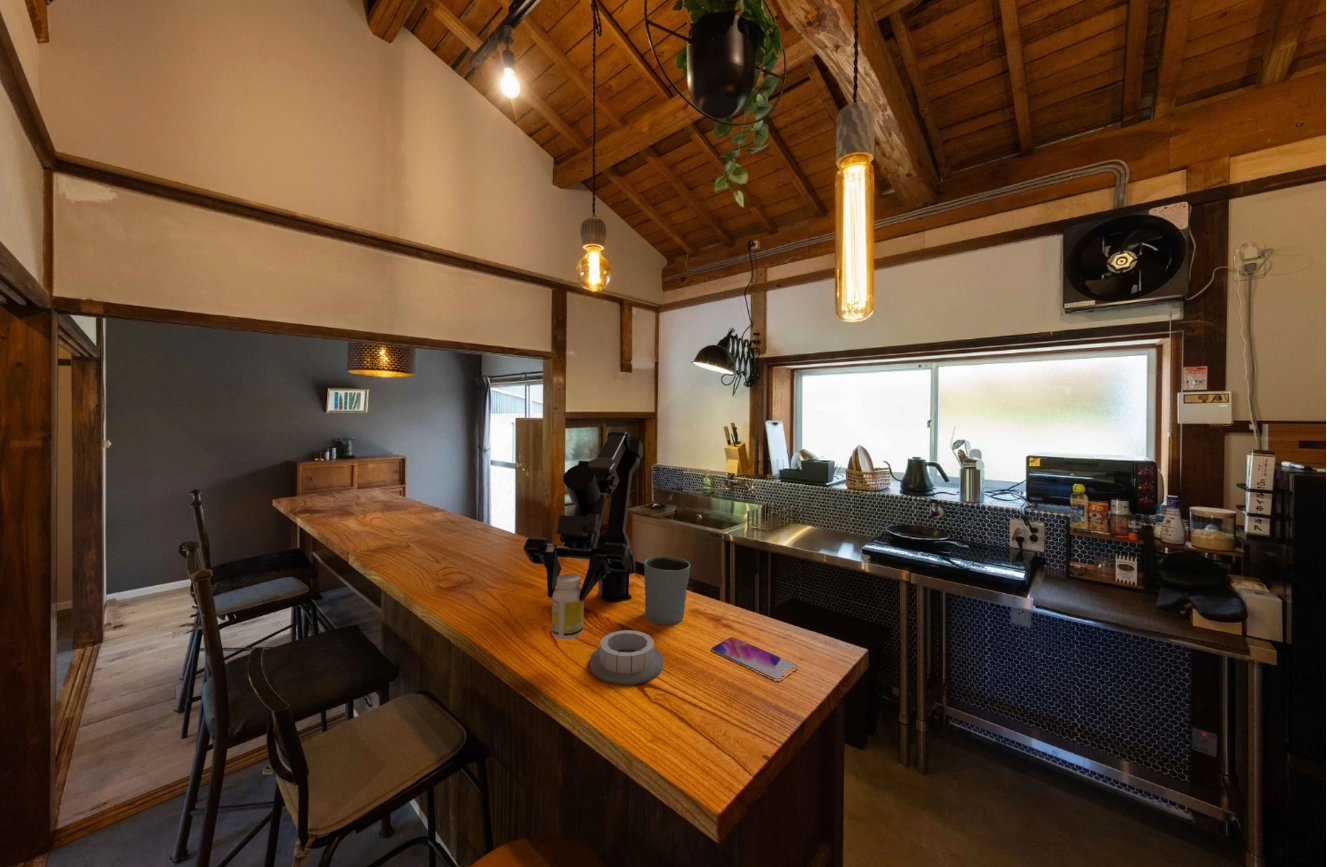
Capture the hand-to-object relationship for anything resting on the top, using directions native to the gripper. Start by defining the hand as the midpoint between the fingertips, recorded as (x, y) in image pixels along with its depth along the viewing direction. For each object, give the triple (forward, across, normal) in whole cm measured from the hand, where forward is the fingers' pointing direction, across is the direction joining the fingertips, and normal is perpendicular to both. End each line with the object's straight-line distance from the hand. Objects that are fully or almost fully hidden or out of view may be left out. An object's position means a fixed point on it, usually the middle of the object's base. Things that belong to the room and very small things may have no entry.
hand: (565, 598), depth 82 cm
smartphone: (+2, +32, +17) cm, 37 cm away
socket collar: (+6, +10, +12) cm, 17 cm away
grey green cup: (-9, +14, +28) cm, 32 cm away
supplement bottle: (+4, 0, +6) cm, 7 cm away
